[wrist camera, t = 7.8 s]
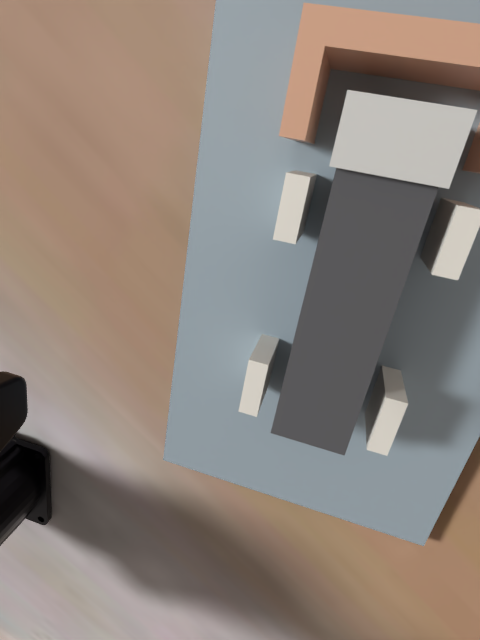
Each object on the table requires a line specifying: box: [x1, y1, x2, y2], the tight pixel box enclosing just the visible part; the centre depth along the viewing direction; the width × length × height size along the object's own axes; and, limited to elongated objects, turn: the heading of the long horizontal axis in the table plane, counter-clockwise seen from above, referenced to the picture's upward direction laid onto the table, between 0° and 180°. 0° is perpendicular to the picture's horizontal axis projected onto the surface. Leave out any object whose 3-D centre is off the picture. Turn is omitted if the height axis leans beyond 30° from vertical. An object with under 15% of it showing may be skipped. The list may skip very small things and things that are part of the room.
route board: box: [163, 0, 480, 546], centre depth 16 cm, size 22×14×3 cm, turn 170°
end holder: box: [279, 3, 480, 173], centre depth 12 cm, size 3×7×3 cm, turn 80°
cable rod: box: [271, 90, 477, 456], centre depth 15 cm, size 12×3×3 cm, turn 170°
